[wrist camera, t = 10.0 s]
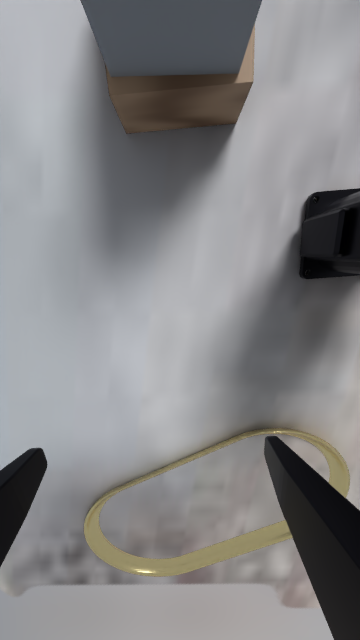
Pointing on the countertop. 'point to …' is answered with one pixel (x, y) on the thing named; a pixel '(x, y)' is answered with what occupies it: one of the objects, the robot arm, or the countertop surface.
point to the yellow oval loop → (216, 551)
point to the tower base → (181, 98)
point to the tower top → (172, 35)
